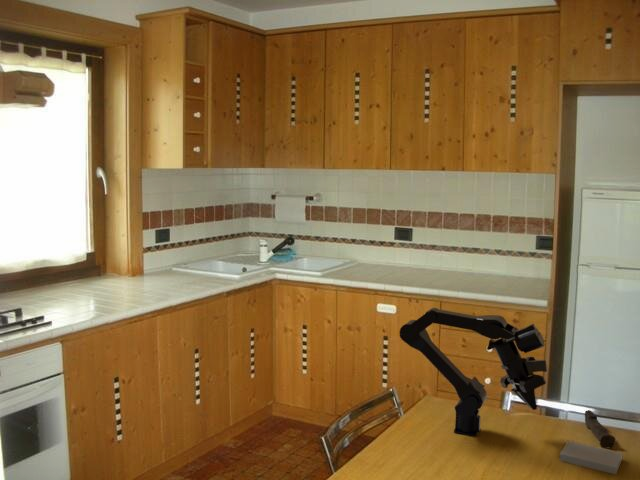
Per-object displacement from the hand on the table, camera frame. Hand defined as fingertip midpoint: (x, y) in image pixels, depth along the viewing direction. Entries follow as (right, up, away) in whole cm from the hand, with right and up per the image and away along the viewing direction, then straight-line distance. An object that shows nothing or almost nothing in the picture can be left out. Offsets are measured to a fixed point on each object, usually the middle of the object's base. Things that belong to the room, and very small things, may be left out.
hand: (535, 409), depth 189 cm
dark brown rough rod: (+20, -10, +8) cm, 24 cm away
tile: (+6, -10, -5) cm, 13 cm away
